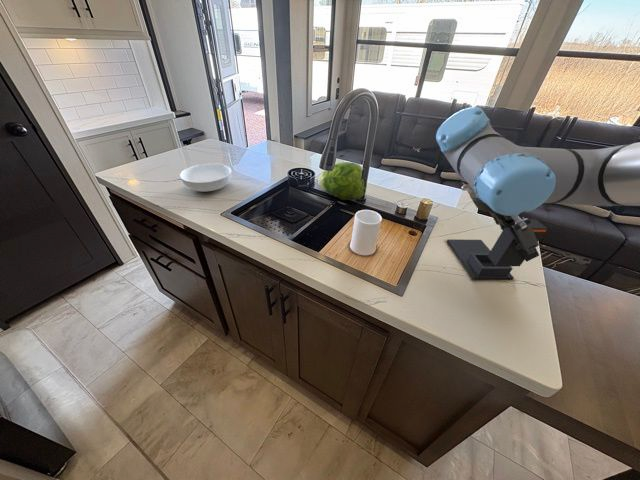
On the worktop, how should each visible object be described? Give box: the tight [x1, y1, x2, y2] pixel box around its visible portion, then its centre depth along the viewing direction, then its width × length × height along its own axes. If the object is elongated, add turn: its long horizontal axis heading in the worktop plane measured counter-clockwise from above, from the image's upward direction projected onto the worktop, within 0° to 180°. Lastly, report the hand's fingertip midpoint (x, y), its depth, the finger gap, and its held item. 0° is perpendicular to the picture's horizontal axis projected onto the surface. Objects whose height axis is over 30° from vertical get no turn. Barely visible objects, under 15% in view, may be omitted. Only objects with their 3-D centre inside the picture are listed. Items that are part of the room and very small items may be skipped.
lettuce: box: [317, 161, 368, 201], centre depth 108 cm, size 16×21×15 cm
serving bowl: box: [179, 162, 233, 192], centre depth 111 cm, size 21×21×7 cm
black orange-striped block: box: [487, 218, 548, 267], centre depth 58 cm, size 4×6×11 cm, turn 93°
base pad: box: [446, 239, 514, 281], centre depth 80 cm, size 18×12×4 cm, turn 2°
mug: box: [349, 209, 383, 256], centre depth 81 cm, size 12×8×12 cm
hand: (525, 251), depth 59 cm, fingers closed on black orange-striped block, 3 cm apart
